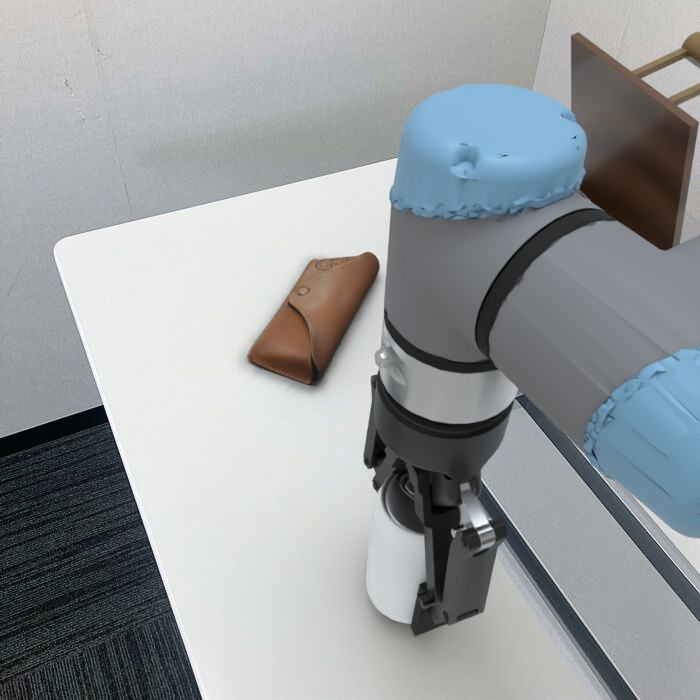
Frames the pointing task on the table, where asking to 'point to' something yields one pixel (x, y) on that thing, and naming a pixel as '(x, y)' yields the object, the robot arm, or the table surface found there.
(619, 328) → the robot arm
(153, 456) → the table surface
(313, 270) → the sunglasses case
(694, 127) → the lid
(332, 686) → the table surface
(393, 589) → the can
